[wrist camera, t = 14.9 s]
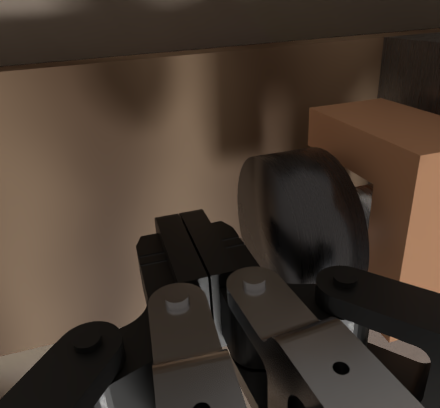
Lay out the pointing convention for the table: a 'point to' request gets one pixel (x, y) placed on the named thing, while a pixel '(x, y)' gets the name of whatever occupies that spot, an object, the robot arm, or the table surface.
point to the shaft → (303, 214)
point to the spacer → (391, 181)
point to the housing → (411, 71)
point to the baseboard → (143, 161)
